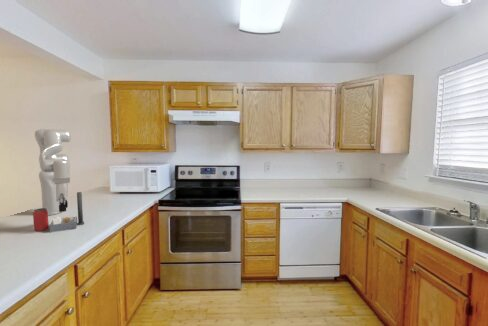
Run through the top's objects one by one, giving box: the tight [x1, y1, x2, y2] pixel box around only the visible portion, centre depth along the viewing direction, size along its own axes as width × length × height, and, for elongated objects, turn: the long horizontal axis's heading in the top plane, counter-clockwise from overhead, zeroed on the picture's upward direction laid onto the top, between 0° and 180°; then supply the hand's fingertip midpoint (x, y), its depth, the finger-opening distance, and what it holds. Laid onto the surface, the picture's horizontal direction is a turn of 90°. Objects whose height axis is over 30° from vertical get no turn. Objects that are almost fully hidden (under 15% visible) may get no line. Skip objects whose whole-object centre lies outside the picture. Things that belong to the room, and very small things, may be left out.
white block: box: [52, 216, 62, 225], centre depth 141 cm, size 4×3×3 cm
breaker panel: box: [49, 215, 78, 233], centre depth 146 cm, size 12×12×6 cm
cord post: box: [76, 191, 85, 226], centre depth 151 cm, size 4×4×20 cm
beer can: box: [32, 207, 50, 232], centre depth 141 cm, size 7×7×12 cm
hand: (63, 209), depth 145 cm, fingers open, 9 cm apart
